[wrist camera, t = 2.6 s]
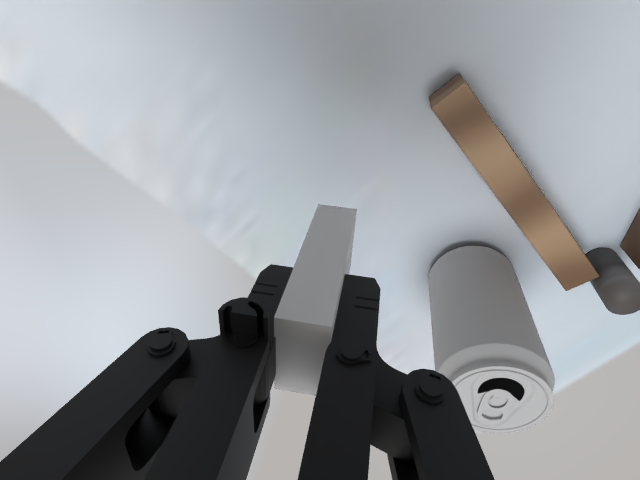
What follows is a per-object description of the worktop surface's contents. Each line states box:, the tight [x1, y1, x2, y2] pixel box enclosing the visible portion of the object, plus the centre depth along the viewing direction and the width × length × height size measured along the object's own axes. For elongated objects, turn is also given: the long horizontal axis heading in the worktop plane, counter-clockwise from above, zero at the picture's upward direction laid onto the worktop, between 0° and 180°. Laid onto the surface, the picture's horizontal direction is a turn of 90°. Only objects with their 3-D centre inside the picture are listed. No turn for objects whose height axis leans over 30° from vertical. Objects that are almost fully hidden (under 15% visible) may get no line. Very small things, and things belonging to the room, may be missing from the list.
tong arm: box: [429, 73, 599, 291], centre depth 27 cm, size 16×2×3 cm, turn 42°
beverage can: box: [428, 246, 555, 433], centre depth 28 cm, size 6×6×12 cm
